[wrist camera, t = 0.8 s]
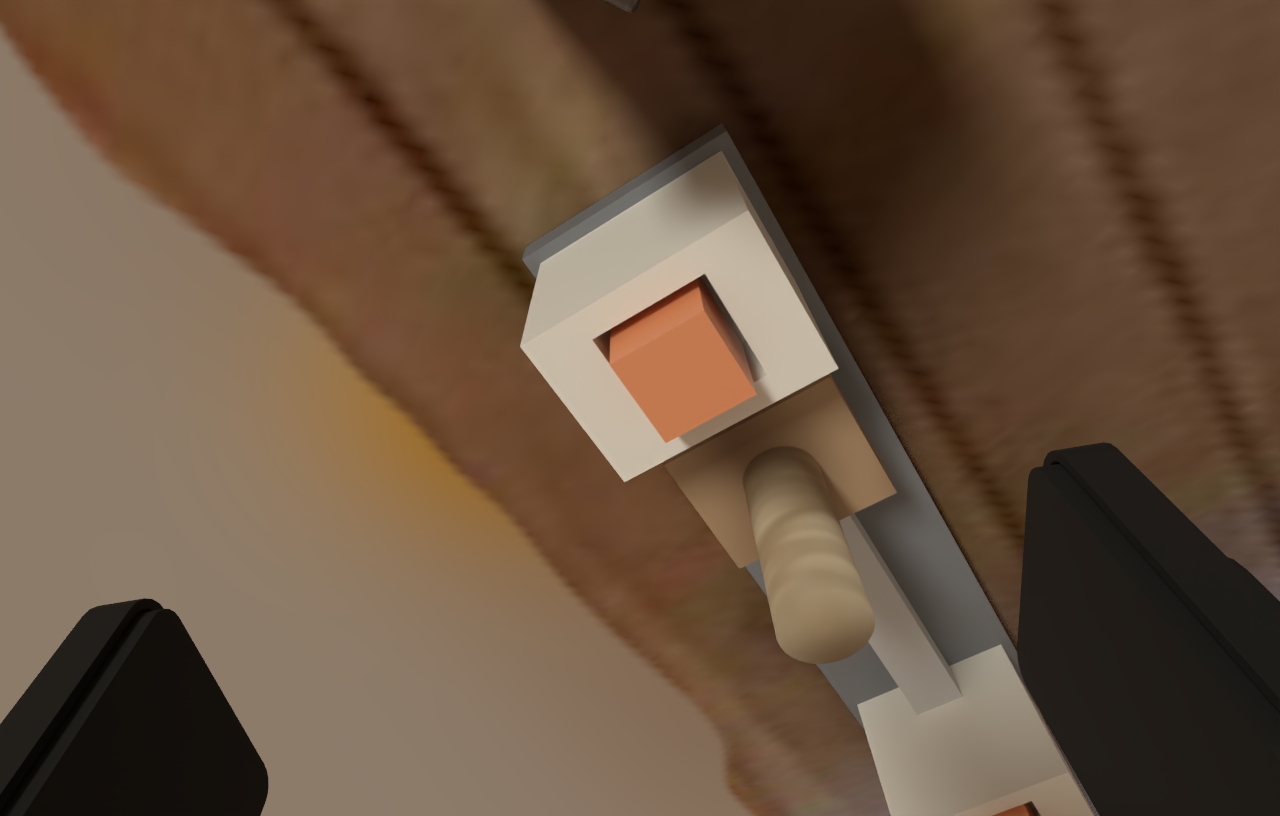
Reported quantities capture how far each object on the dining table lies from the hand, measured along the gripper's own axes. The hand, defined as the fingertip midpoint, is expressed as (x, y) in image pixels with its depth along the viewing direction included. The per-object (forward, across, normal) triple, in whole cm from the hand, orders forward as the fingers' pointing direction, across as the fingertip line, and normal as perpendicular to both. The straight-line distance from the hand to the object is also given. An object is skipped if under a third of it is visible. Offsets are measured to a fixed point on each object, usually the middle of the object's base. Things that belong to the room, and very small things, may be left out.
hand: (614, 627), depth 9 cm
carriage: (+22, -5, +13) cm, 26 cm away
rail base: (+26, -7, +18) cm, 32 cm away
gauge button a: (+19, -1, +5) cm, 20 cm away
